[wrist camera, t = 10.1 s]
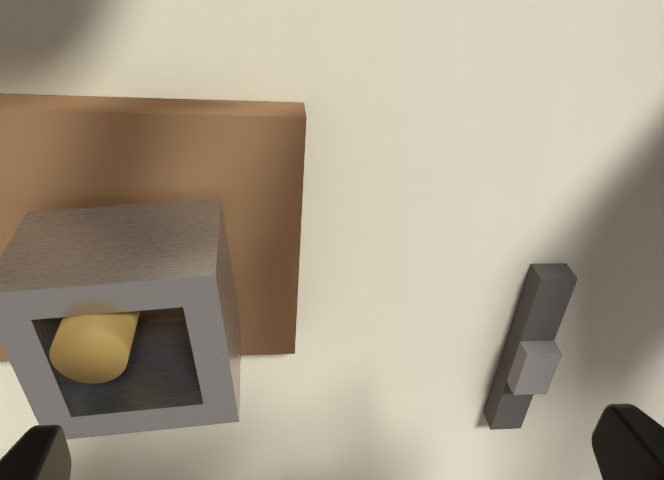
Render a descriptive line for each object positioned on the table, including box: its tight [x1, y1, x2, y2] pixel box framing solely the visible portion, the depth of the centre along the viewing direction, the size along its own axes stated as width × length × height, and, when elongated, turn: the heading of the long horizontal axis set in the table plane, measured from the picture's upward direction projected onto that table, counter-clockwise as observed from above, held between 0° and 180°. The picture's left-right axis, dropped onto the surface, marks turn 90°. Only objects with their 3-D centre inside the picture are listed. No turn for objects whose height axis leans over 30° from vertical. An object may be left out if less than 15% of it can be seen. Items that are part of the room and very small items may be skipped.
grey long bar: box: [484, 264, 577, 430], centre depth 26 cm, size 2×9×2 cm, turn 176°
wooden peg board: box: [0, 94, 306, 384], centre depth 19 cm, size 12×10×6 cm
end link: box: [0, 198, 241, 439], centre depth 19 cm, size 6×6×4 cm
